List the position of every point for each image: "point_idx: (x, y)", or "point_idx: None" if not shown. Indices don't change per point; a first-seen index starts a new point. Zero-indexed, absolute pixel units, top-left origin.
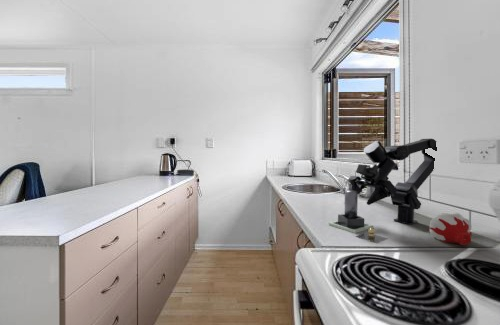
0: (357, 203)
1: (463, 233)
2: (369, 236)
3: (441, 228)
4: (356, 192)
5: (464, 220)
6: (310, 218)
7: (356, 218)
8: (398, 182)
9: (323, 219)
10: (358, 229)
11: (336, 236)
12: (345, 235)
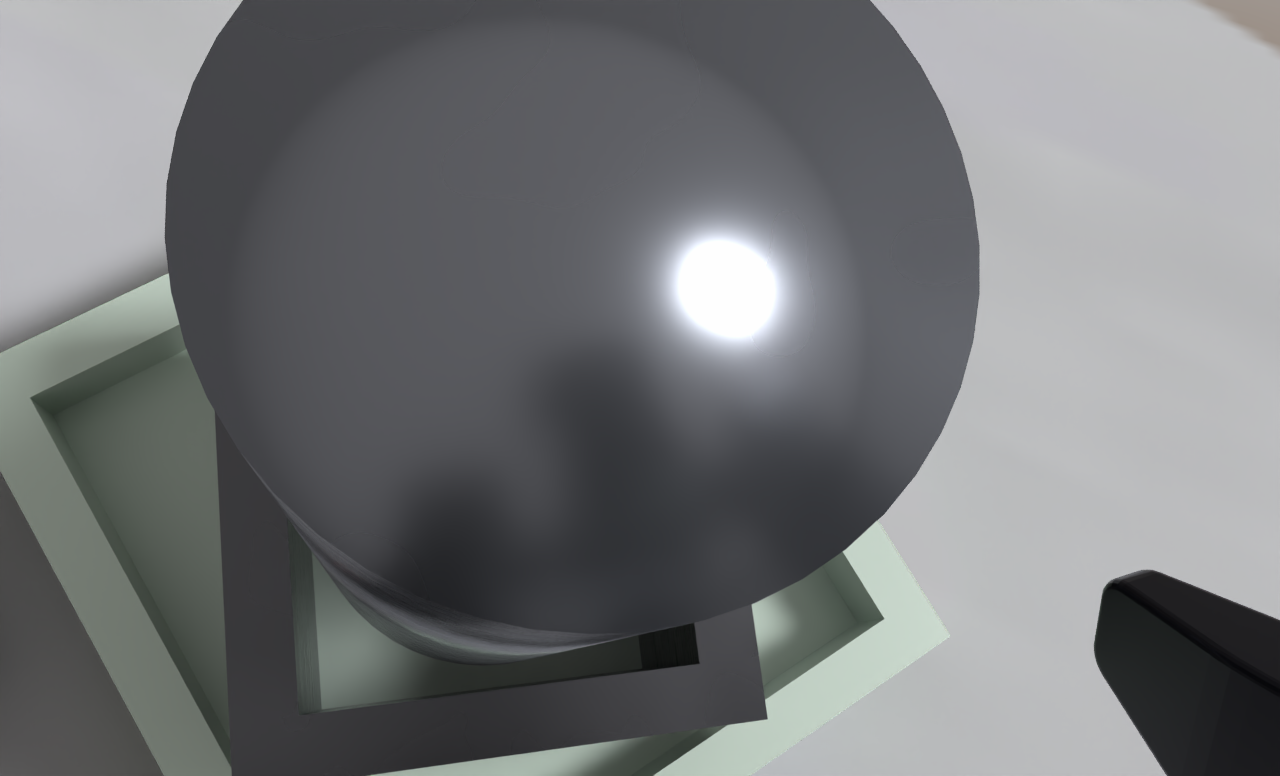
0: (373, 611)
1: None
2: None
3: None
4: (217, 401)
5: None
6: (1170, 16)
7: (272, 557)
8: None
9: (1121, 240)
10: (20, 498)
11: (21, 33)
12: (52, 227)
